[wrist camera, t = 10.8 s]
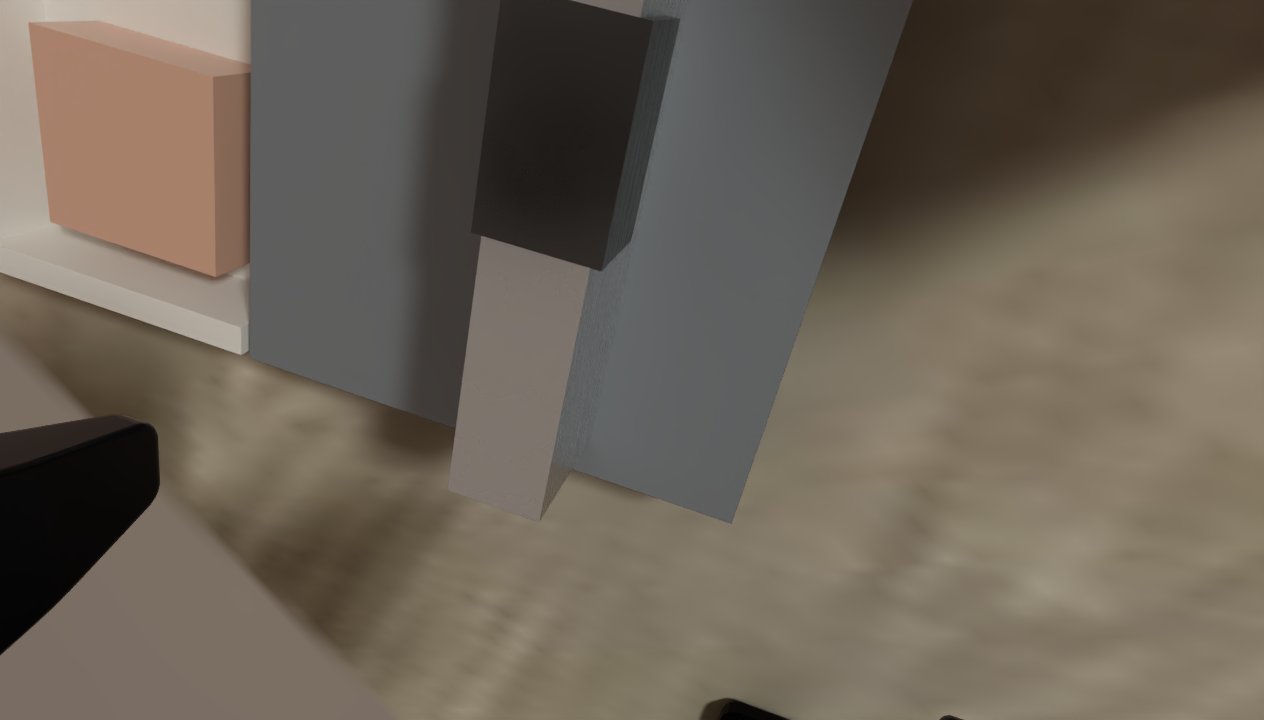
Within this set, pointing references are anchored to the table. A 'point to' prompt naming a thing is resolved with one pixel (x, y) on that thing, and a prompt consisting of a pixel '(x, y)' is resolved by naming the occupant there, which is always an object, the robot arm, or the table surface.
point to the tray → (83, 264)
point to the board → (448, 252)
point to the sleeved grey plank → (555, 233)
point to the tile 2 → (145, 142)
